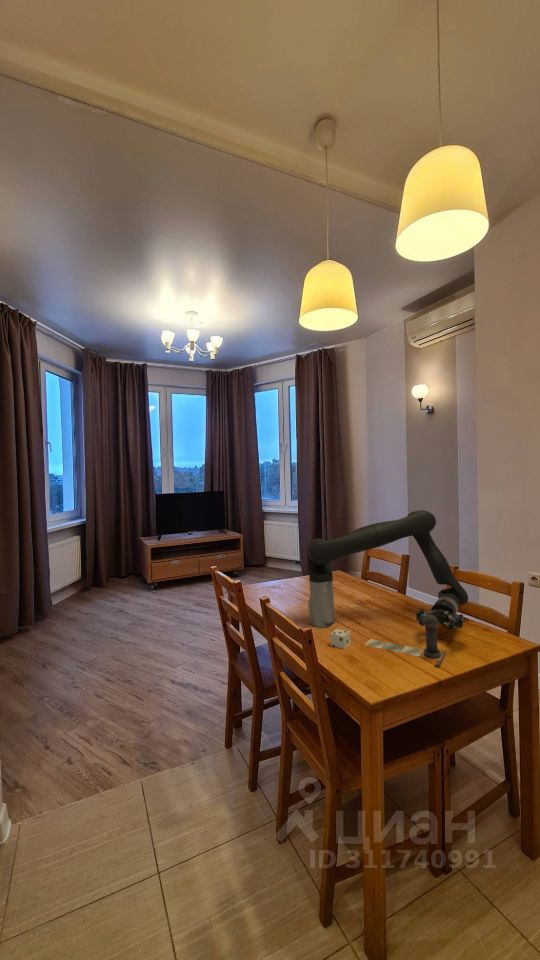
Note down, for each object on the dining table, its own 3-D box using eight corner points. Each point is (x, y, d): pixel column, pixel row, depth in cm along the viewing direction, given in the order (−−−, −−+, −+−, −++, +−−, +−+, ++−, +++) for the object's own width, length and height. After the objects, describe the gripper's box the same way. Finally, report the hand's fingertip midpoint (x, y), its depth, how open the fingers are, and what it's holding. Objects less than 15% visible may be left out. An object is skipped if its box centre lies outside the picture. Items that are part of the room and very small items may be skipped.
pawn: (422, 656, 120) (420, 615, 120) (425, 650, 124) (423, 610, 124) (438, 659, 117) (436, 618, 117) (442, 653, 121) (440, 613, 121)
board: (361, 650, 127) (360, 648, 127) (372, 638, 136) (372, 636, 136) (439, 667, 114) (439, 664, 114) (446, 653, 123) (446, 650, 123)
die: (330, 648, 130) (329, 633, 130) (336, 643, 134) (336, 628, 134) (344, 652, 127) (344, 636, 127) (350, 646, 131) (350, 631, 131)
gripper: (423, 596, 142) (411, 610, 129) (466, 602, 134) (458, 617, 121) (424, 617, 142) (413, 632, 129) (467, 623, 134) (460, 641, 121)
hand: (435, 625), depth 125 cm, fingers open, 8 cm apart
